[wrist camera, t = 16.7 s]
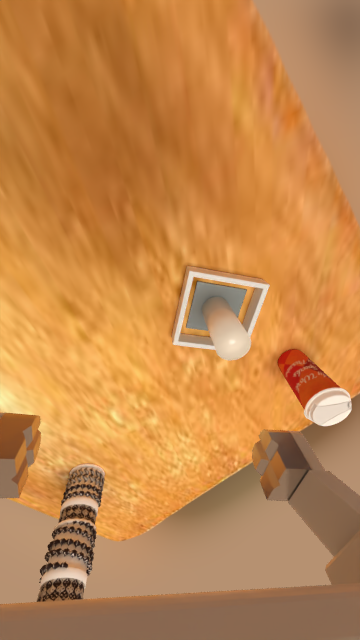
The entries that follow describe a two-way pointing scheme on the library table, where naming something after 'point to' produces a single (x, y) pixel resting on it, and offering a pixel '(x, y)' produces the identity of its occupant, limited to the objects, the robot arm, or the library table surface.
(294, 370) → the paper cup
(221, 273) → the corral
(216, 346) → the white pillar candle
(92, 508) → the decorative candle
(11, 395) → the library table surface
